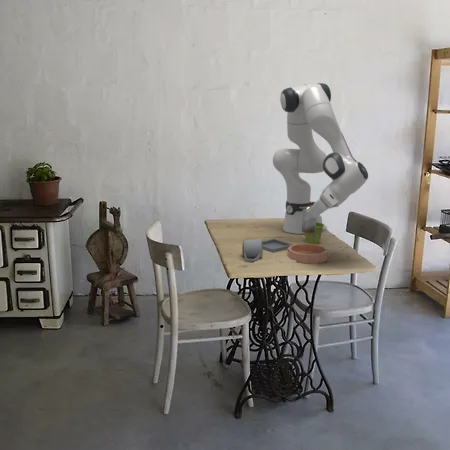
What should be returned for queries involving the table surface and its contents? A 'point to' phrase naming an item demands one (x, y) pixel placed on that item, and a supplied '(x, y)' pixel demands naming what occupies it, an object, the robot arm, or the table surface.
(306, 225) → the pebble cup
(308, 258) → the terracotta bowl
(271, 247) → the parts tray
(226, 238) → the table surface
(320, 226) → the plant pot
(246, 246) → the ceramic mug
